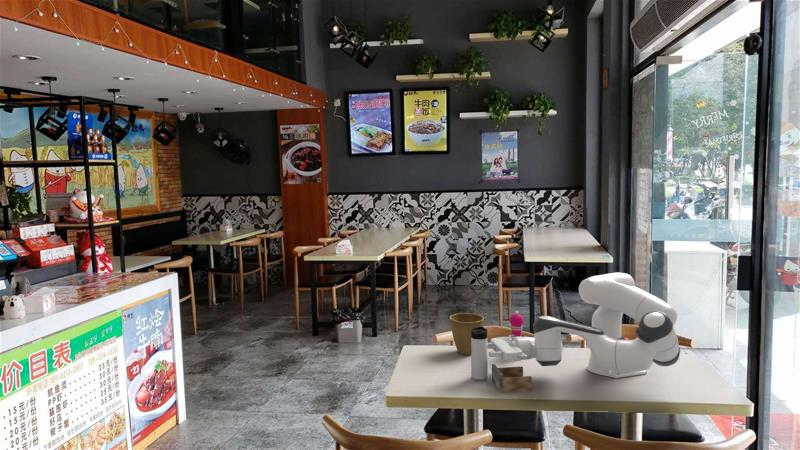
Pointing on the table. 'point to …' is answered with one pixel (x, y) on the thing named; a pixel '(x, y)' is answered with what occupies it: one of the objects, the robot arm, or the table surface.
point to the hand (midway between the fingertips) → (485, 350)
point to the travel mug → (479, 354)
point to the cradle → (510, 379)
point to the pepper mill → (516, 324)
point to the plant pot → (464, 330)
